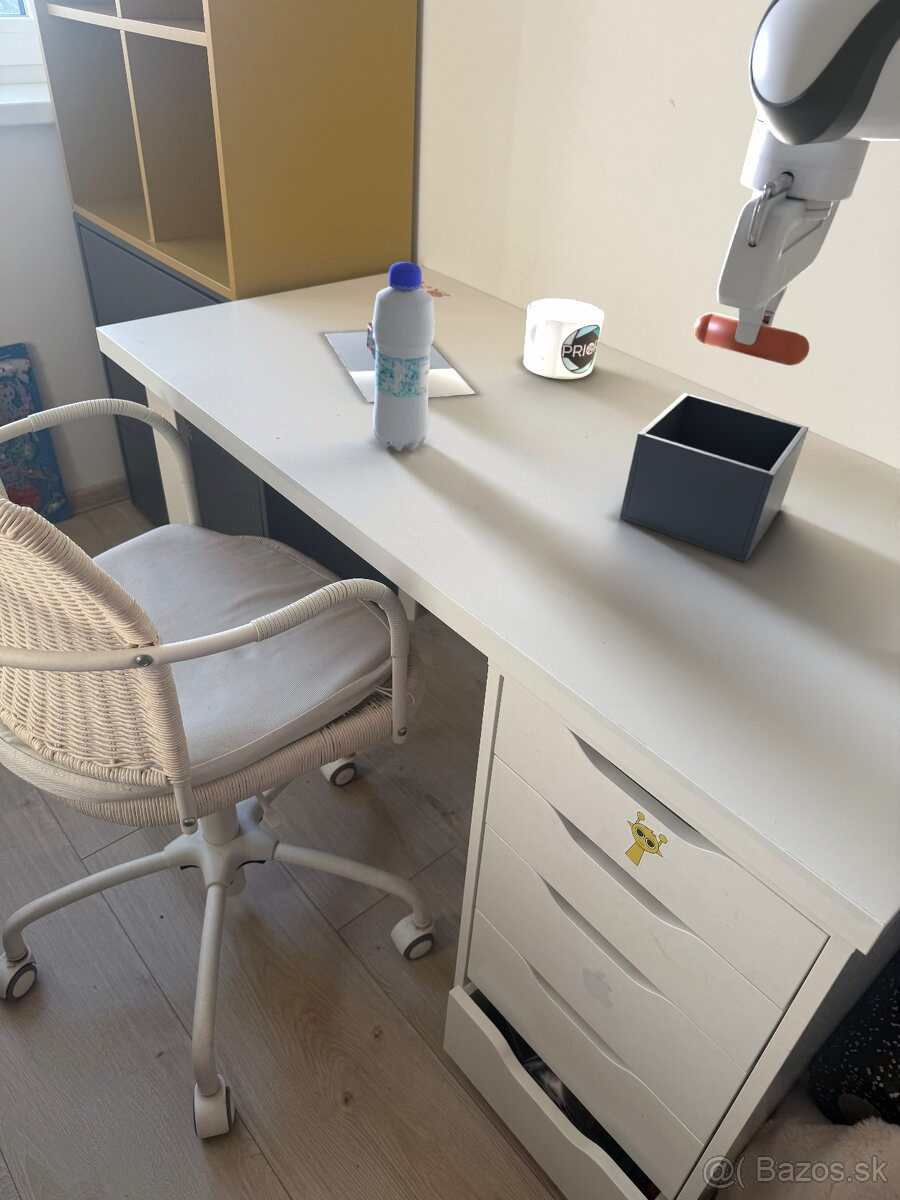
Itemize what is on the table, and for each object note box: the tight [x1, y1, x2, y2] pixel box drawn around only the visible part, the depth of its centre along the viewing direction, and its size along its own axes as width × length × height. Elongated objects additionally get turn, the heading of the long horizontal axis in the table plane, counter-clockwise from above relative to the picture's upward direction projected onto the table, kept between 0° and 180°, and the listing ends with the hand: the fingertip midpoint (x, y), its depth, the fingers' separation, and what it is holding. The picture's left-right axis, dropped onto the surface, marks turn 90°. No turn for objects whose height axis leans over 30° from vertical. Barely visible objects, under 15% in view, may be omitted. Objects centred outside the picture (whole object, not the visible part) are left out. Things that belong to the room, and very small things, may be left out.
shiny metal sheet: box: [324, 321, 476, 403], centre depth 115 cm, size 14×25×4 cm, turn 19°
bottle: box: [371, 261, 436, 452], centre depth 90 cm, size 7×7×20 cm
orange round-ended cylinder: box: [693, 312, 810, 366], centre depth 75 cm, size 10×3×3 cm, turn 57°
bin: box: [619, 392, 810, 563], centre depth 84 cm, size 13×13×10 cm
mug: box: [523, 297, 605, 380], centre depth 115 cm, size 13×10×8 cm
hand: (752, 335), depth 75 cm, fingers closed on orange round-ended cylinder, 3 cm apart
